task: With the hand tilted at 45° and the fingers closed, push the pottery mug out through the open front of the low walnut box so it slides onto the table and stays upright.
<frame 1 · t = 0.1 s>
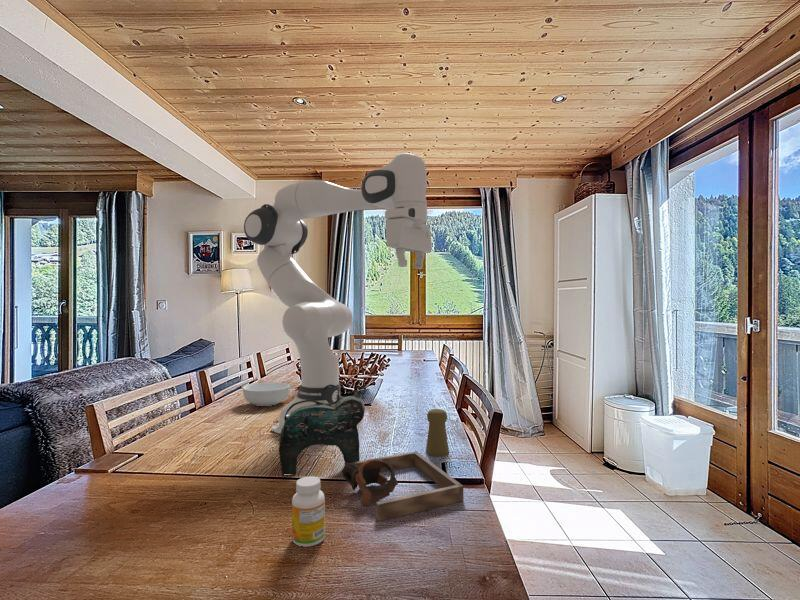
hand: (410, 267, 115), 48 cm above the table, tool pointing down, fingers open, 8 cm apart
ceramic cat: (323, 471, 101), on the table
cork: (437, 452, 112), on the table
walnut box: (368, 494, 89), on the table
supplement bottle: (308, 539, 73), on the table
cereal bowl: (267, 405, 164), on the table
pottery mug: (369, 496, 89), on the table
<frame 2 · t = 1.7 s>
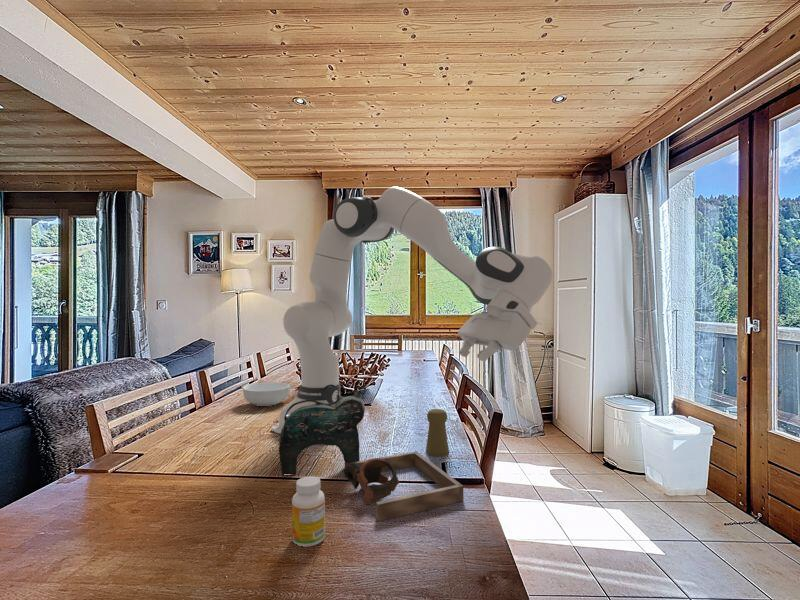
hand: (470, 357, 98), 27 cm above the table, tool tilted 45°, fingers open, 6 cm apart
nothing on the table moved.
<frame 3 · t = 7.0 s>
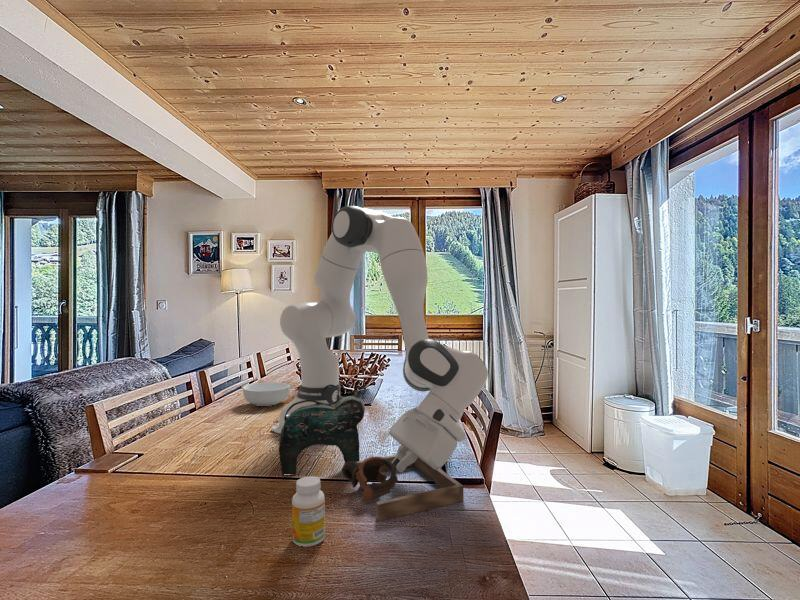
hand: (395, 468, 91), 4 cm above the table, tool tilted 45°, fingers closed, pressing on pottery mug
pottery mug: (369, 493, 90), on the table, touching gripper
everything else where it was.
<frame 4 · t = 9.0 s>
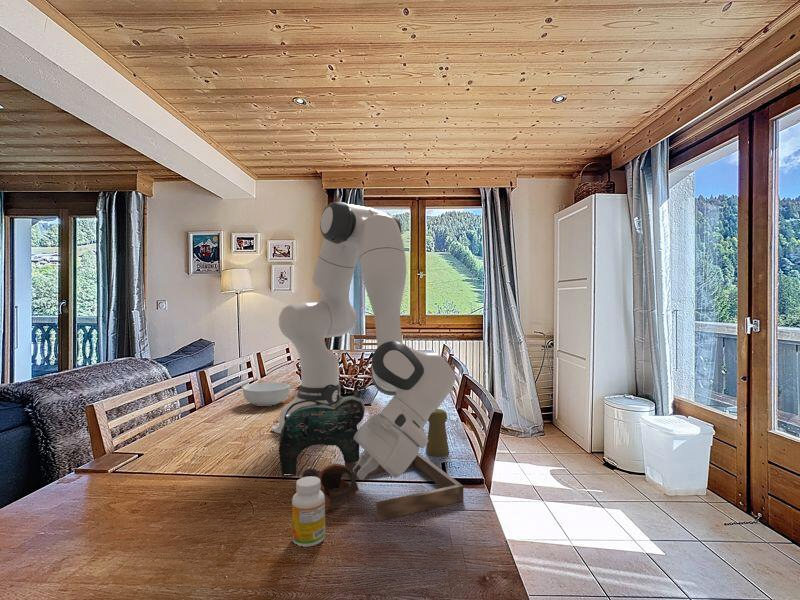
hand: (356, 475, 87), 4 cm above the table, tool tilted 45°, fingers closed
pottery mug: (329, 502, 86), on the table, touching gripper
everything else where it was.
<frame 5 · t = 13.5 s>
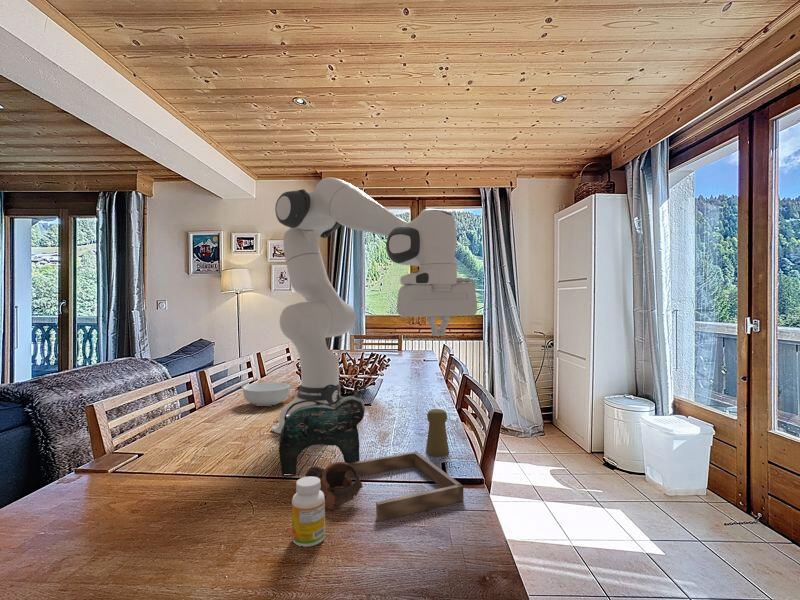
hand: (438, 335, 103), 31 cm above the table, tool pointing down, fingers closed
pottery mug: (333, 499, 87), on the table
everything else where it was.
at the end: pottery mug inside the target area on the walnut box (2.8 cm from its centre), point 0.0 cm above the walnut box's base; pottery mug tilted 1°; pottery mug touching table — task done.
